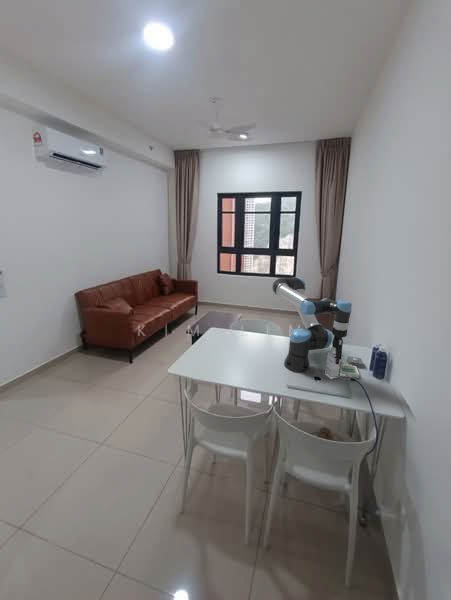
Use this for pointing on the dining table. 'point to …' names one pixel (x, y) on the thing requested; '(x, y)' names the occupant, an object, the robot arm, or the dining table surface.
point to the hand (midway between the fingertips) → (334, 363)
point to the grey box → (355, 362)
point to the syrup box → (330, 364)
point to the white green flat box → (349, 371)
